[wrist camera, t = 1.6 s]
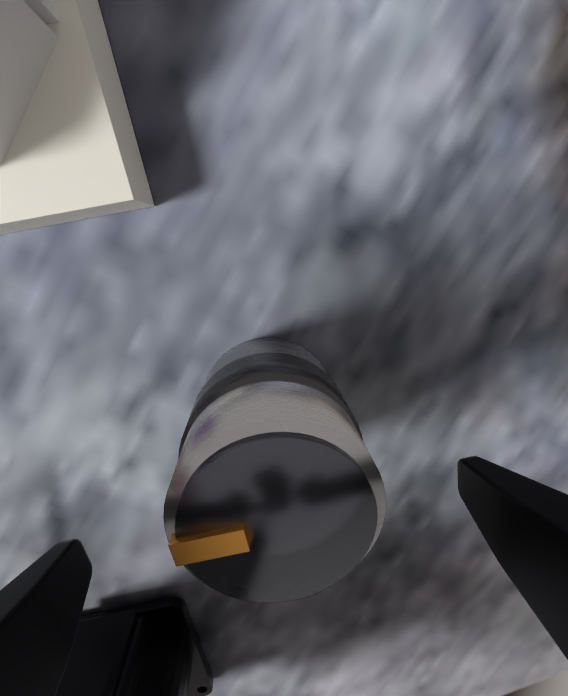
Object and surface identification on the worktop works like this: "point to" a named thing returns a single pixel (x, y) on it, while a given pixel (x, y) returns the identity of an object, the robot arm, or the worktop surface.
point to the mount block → (63, 119)
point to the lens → (272, 479)
